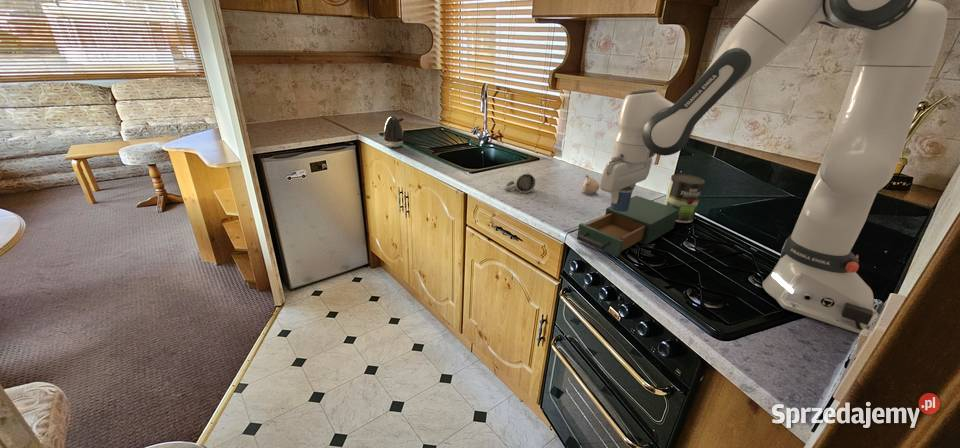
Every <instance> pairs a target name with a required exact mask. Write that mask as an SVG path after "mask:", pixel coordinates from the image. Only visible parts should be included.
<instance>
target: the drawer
mask: <svg viewBox="0 0 960 448" xmlns="http://www.w3.org/2000/svg"><path fill="white" fill-rule="evenodd" d="M577 229H578V230H577V236H576V240H578V241H581V242H583V243H585V244H586V245H588V246H591V247H594V248H596V249H598V250H601V251H602V252H605V253H607V254H610V255H611V256H614V257H617V258H619V257H620V256H621V253H622V252H623V251H625V250H626V249H628V248H631V247H632V246H634V245H635V244H637V243H640V242H639V241H640V240H642V239H644V238H645V234H646V230H647V226H646V225H643V224H640V223H638V222H635V221H632V220H629V219H627V218H624V217H621V216H619V215H616V214H613V213H609V214H607V215H605V214H604V215H602V216H600V217H598V218H596V219H594V220H591V221H589V222H587V223H586V224H584V223H579V224H578V228H577Z"/></svg>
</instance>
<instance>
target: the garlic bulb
mask: <svg viewBox="0 0 960 448" xmlns="http://www.w3.org/2000/svg"><path fill="white" fill-rule="evenodd" d="M581 187H582V188H581V189H582V190H583V192H584V193H585V194H587V195H591V194H592V195H593V194H595V193H596V192H598V191H599V189H600V182H598V180H596V179H595V178H593V177H590V176H589V175H585V180H584V182H583V184H582V186H581Z"/></svg>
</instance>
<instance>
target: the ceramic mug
mask: <svg viewBox="0 0 960 448" xmlns="http://www.w3.org/2000/svg"><path fill="white" fill-rule="evenodd" d="M535 186H536V178H535V176H534V175H533V174H532V173H530V172H529V171H527V170H525V169H519V170H516V171H515V172H514V174H513V176H512V180H511V181H508V182H507V183H506V184H505V189H506V191H514V190H517V191H518V192H520V193H522V194H527V193H530V192H531V191H533V190H534V188H535Z"/></svg>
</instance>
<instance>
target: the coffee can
mask: <svg viewBox="0 0 960 448" xmlns="http://www.w3.org/2000/svg"><path fill="white" fill-rule="evenodd" d="M670 176H671V177H670V182H669V185H668V189H667V193H666V197H665V200H664V203H663V204H664V205H667V206H670V207H673V208H676V209H679V210H678V214H677V217H676V221H675V223H681V224H689V223H693V221H694V218H695V215H696V212H697V208H698V205H699V202H700V198H701V197H702V196H701V195H702V193H703V188H704V185H705V183H706V181H705V179H703V178H701V177H699V176H695V175H693V174H687V173H676V174H672V175H670Z"/></svg>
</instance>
